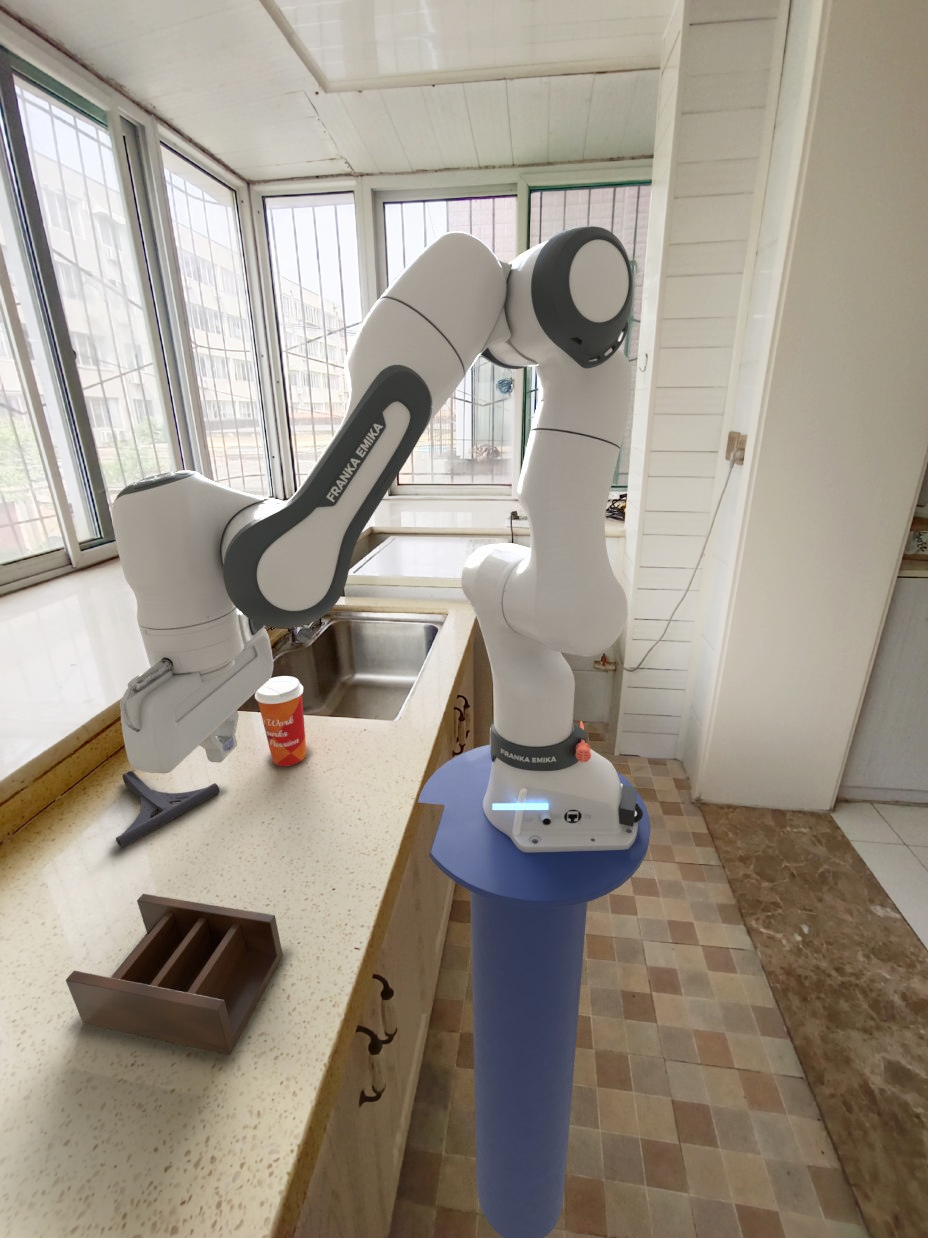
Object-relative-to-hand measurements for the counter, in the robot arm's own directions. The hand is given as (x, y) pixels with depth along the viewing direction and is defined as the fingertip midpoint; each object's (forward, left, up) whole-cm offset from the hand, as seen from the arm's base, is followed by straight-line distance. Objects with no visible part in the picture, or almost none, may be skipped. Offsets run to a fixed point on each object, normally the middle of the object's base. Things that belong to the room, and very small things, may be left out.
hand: (223, 754), depth 59 cm
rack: (+1, +12, -21) cm, 24 cm away
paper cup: (+9, -28, -21) cm, 36 cm away
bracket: (+25, -14, -21) cm, 36 cm away
